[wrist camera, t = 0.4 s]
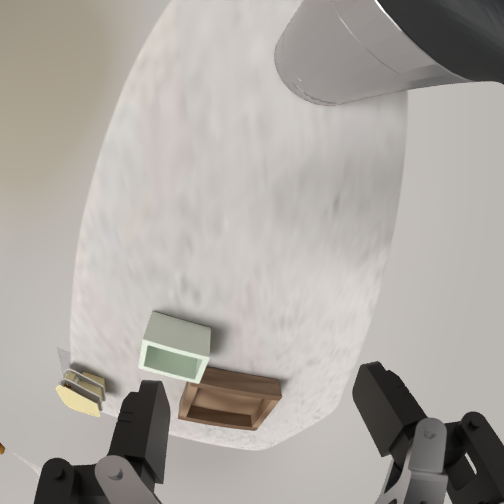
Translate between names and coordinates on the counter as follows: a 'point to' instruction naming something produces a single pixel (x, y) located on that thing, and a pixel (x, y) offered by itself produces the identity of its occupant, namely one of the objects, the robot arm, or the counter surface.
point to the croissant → (1, 449)
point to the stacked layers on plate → (80, 388)
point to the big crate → (229, 399)
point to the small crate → (175, 348)
